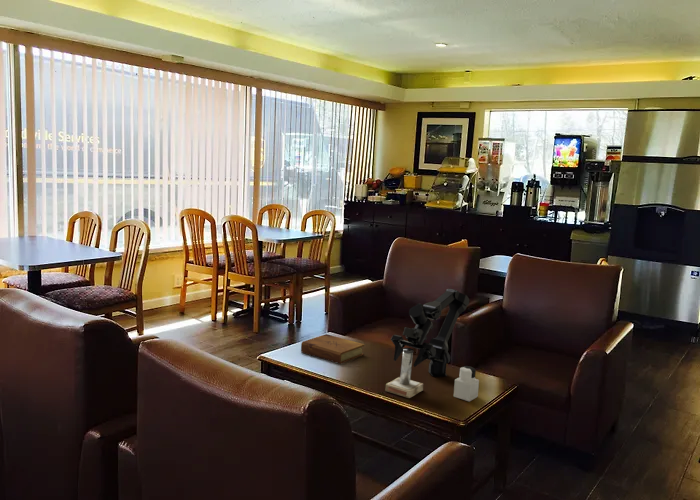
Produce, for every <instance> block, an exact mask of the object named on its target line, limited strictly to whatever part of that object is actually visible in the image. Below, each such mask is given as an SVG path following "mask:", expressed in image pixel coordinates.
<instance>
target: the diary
mask: <svg viewBox="0 0 700 500" xmlns="http://www.w3.org/2000/svg"><path fill="white" fill-rule="evenodd" d="M364 346H365V343H362V342H361V343H360V342H358V341H354V340H351V339H350V340H349V339H346V338H343V337H339V336H335V335H330V334H328V333H326V334H323V335H319V336H316V337H312V338H310V339H309V338H308V339H306V340H303V341H302V342H301V344H300V352H301V353H302V354H306V355H310V356H311V357H312V356H313V357H315V358H320V359H322V360H326V361H330V362H331V363H336V364H338V365H342V364H344V363H346V362H349V361H352V360H354V359H356V358H359V357H361V356H363V355H364V353H363V347H364Z"/></svg>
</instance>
